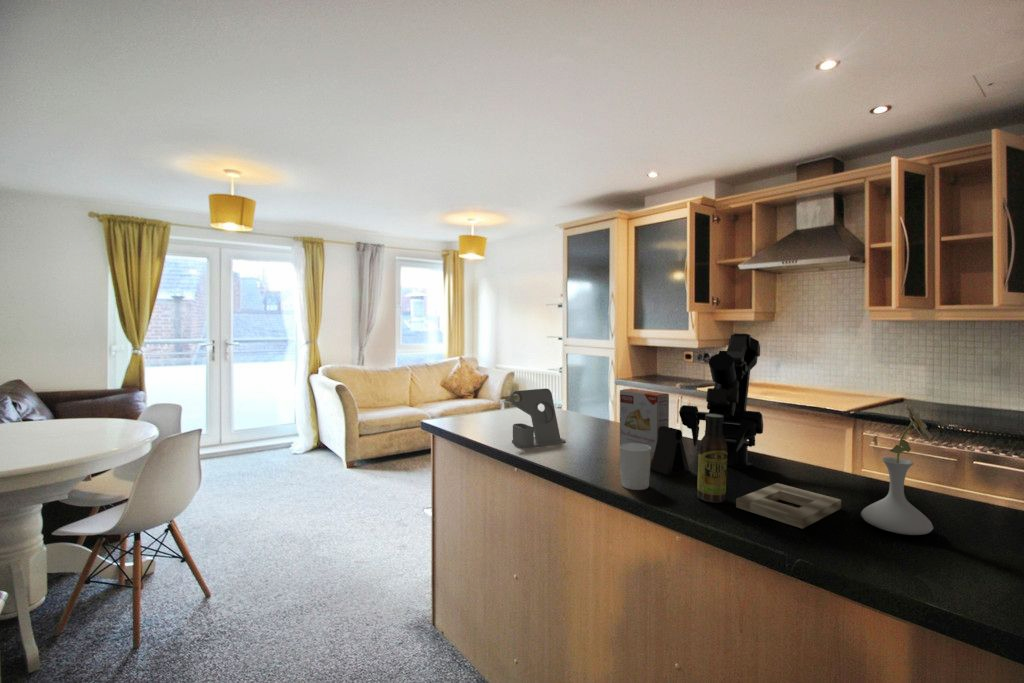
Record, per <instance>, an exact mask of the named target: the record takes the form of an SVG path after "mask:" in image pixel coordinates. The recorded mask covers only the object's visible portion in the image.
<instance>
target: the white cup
mask: <svg viewBox="0 0 1024 683" xmlns="http://www.w3.org/2000/svg"><path fill="white" fill-rule="evenodd" d="M618 448H619V450H618V451H619V452H618V453H619V470H620V472H619V473H620V479H621V480H620V485H621V486H622V487H623V488H625V489H628V490H632V491H642V490H647V489H648V488H650V475H651V470H650V468H651V465H650V463H651V447H650V446H648V445H644V444H638V443H626V444H621V445H620V444H619V445H618Z"/></svg>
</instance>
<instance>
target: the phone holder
mask: <svg viewBox="0 0 1024 683" xmlns="http://www.w3.org/2000/svg"><path fill="white" fill-rule="evenodd" d="M514 395H517V396H518V398H519V399H518V401H516V400H515V398H514ZM509 401H510V403H511V405H512V406H514V407H515V408H518V409H519V410H521V411H522V412H523V413H525V414H526V415H529V417H530V419H531V423H532V426H531V425H528V424H526V423H514V424H512V440H511V443H512V444H514V445H516V446H518V447H520V448H522V449H531V448H538V447H546V446H551V445H557V444H564V443H566V440H567V439H564V438H562V437H561V435H560V434H561V433H560V429H559V425H558V418H557V414H556V410H555V404H554V399H553V394H552V391H551V390H550V389H549V388H534V389H524V390H522V389H521V390H516V391H512V392H511V393H510V395H509ZM540 404H541V405H542V406H543V407H544V409H543V411H541V410H540V409H539V405H540Z"/></svg>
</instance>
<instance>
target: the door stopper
mask: <svg viewBox="0 0 1024 683" xmlns="http://www.w3.org/2000/svg"><path fill="white" fill-rule="evenodd" d="M650 471H652V472H656V473H658V474H662V475H665V476H672V475H677V474H680V473H681V474H682V473H685V472H689V471H690V468H689V463H688V459H687V455H686V451H685V447H684V444H683V431H682V430H681V429H678V428H673V427H670V426H669V427H666V426H663V427H662V426H660V427H659V429H658V440H657V444H656V448H655V452H654V456H653V460H652V464H651V465H650Z"/></svg>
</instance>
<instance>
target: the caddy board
mask: <svg viewBox="0 0 1024 683" xmlns="http://www.w3.org/2000/svg"><path fill="white" fill-rule="evenodd" d="M779 500H781V501H784V502H787V503H791V504H794V505H797V506H800V507H795V506H792V505H789V504H785V503H781V502H779ZM735 508H737V509H739V510H740V509H741V510H744V511H746V512H750V513H753V514H755V515H756V514H757V515H758V516H762V517H765V518H768V519H772V520H773V521H774V520H775V521H778V522H781V523H783V524H786V525H790V526H792V527H797V528H798V529H799V528H800V529H805V528H807V527H808V526H810V525H812V524H815V523H816V522H818V521H820V520H822V519H824V518H826V517H828V516H829V515H831V514H833V513H836V512H837V511H839V510H841V509H842V499H840V498H837V497H832V496H828V495H825V494H821V493H817V492H813V491H809V490H806V489H805V490H804V489H801V488H797V487H794V486H789V485H786V484H783V483H778V482H776V483H773V484H770V485H768V486H766V487H762V488H760V489H757V490H755V491H753V492H750V493H747V494H744V495H743V496H738V497H737V498H736V499H735Z"/></svg>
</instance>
